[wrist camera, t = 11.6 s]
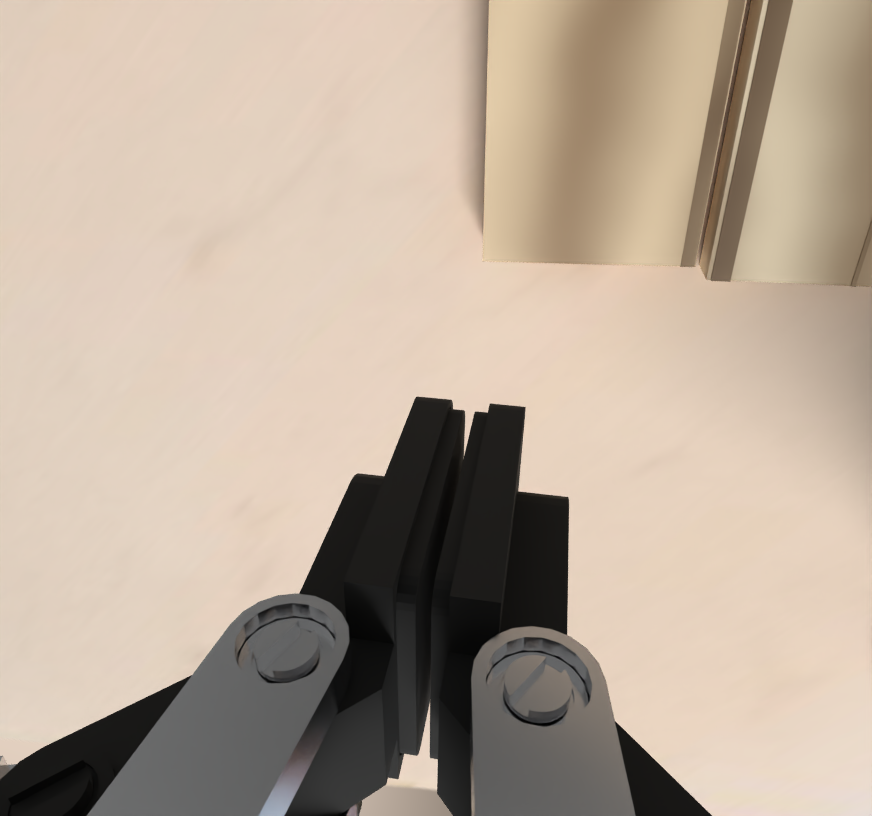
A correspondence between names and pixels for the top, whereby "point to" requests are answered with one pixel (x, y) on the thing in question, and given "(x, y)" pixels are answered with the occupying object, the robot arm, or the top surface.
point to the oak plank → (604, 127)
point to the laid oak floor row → (797, 150)
